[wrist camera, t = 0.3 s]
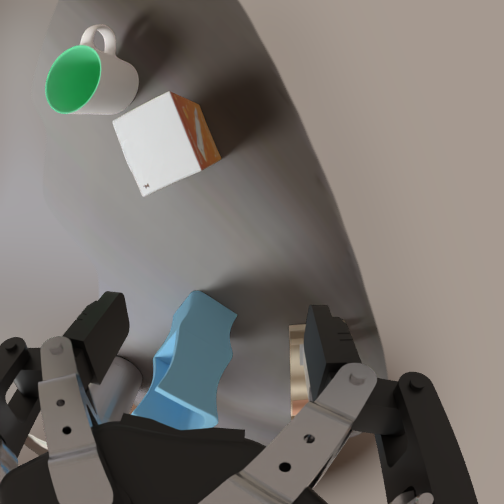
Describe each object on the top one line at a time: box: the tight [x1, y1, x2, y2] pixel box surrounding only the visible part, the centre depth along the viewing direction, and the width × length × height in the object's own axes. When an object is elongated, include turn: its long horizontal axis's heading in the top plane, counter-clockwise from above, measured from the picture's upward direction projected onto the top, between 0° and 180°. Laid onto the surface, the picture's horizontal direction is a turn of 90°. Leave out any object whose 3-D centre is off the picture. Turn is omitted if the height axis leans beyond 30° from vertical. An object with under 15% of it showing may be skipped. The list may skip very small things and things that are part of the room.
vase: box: [131, 291, 237, 430], centre depth 37 cm, size 8×8×20 cm
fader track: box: [289, 320, 345, 420], centre depth 49 cm, size 24×9×4 cm, turn 5°
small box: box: [113, 91, 221, 197], centre depth 30 cm, size 8×6×13 cm
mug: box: [45, 24, 139, 115], centre depth 27 cm, size 12×8×10 cm
